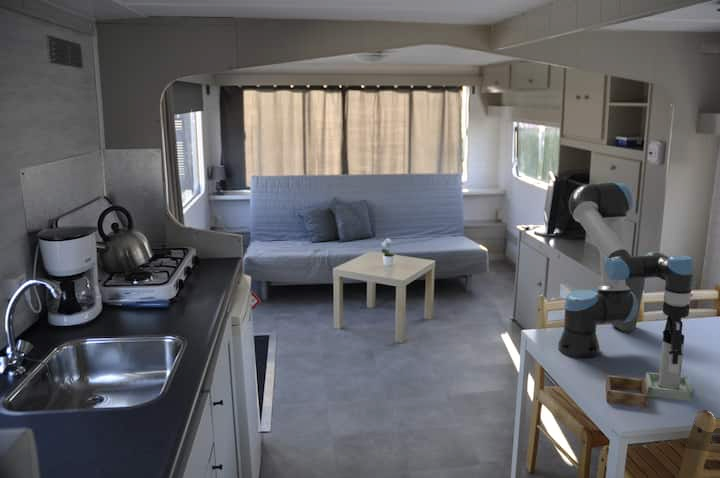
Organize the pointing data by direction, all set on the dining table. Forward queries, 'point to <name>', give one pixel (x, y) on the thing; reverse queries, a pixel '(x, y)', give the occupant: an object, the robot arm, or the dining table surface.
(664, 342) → the travel mug
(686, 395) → the tray
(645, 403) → the holder
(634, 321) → the vase
